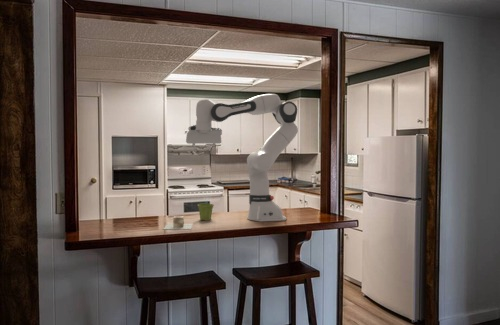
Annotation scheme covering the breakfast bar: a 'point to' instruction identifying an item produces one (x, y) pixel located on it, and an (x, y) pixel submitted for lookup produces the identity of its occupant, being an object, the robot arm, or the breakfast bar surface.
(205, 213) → the plant pot
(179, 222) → the birch block
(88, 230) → the breakfast bar surface
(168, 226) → the sage mat
